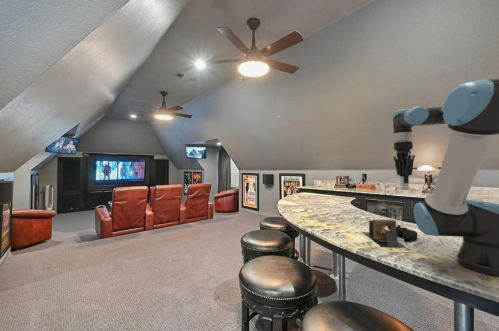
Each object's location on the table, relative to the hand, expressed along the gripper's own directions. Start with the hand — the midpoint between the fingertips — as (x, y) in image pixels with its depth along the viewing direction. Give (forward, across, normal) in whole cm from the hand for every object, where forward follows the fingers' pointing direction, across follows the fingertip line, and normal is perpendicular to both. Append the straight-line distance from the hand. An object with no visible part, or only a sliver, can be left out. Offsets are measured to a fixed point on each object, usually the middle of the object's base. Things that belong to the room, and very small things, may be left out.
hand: (404, 189), depth 107 cm
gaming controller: (+25, +5, -1) cm, 25 cm away
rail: (+24, +1, +11) cm, 27 cm away
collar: (+24, -2, +11) cm, 27 cm away
